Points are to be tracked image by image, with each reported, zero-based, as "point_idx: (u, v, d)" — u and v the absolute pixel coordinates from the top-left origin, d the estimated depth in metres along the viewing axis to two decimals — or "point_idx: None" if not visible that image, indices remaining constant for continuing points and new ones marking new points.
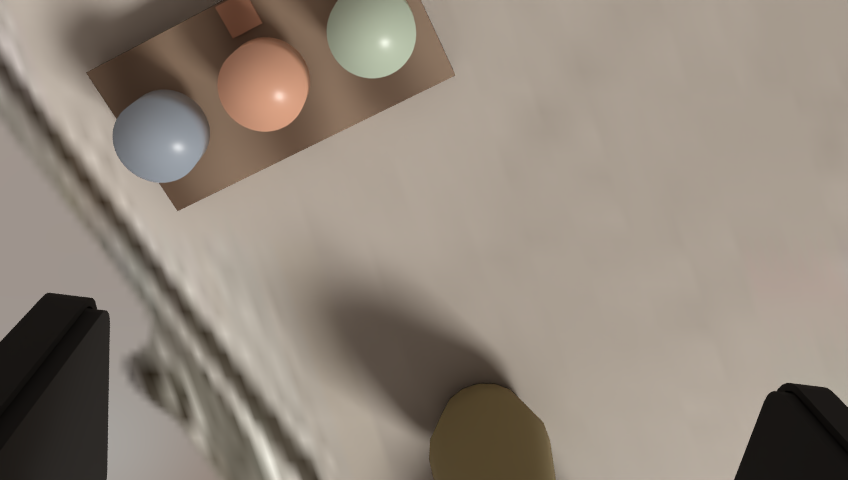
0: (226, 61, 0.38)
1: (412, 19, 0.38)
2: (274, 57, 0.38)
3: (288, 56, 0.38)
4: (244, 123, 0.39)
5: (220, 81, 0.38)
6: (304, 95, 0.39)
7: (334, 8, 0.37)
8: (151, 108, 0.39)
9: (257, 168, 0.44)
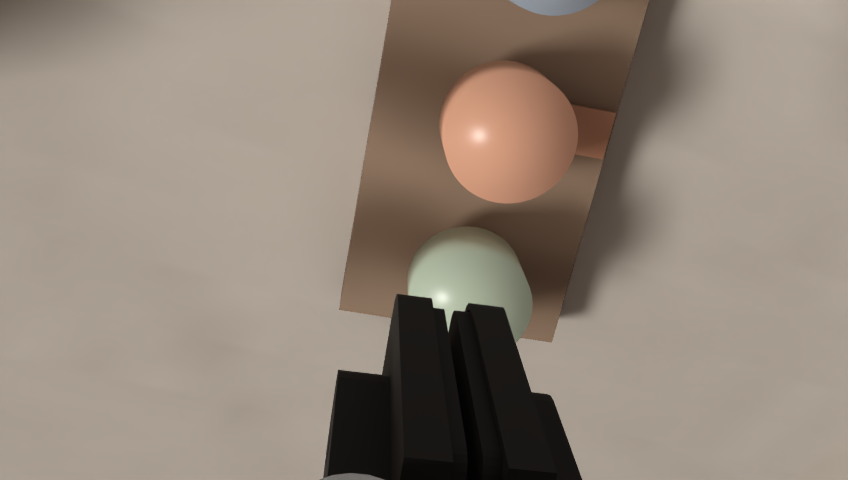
0: (575, 124, 0.25)
1: None
2: (532, 184, 0.26)
3: (520, 200, 0.26)
4: (488, 81, 0.24)
5: (560, 97, 0.25)
6: (462, 183, 0.25)
7: (528, 289, 0.27)
8: None
9: None
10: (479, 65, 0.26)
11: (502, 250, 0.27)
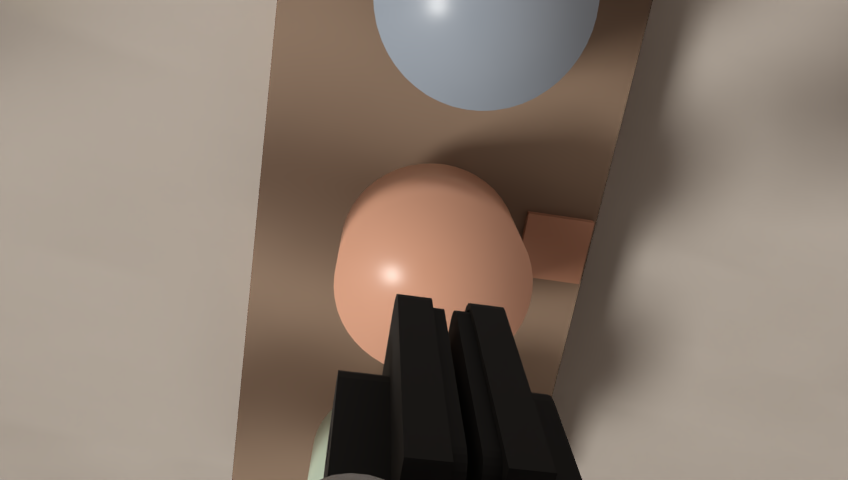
0: (527, 264, 0.17)
1: None
2: None
3: None
4: (393, 208, 0.16)
5: (502, 226, 0.16)
6: (367, 350, 0.17)
7: None
8: (558, 49, 0.15)
9: (277, 72, 0.19)
10: (392, 171, 0.18)
11: None
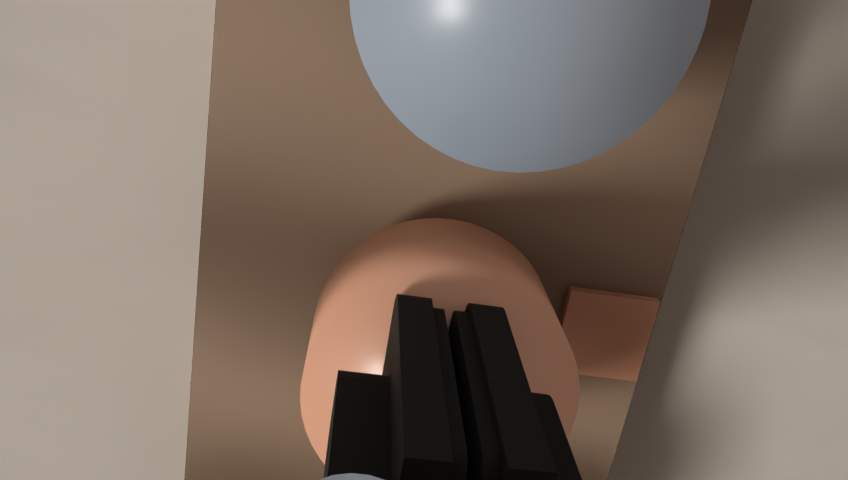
0: (573, 368, 0.12)
1: None
2: None
3: None
4: (384, 295, 0.11)
5: (539, 318, 0.12)
6: None
7: None
8: (641, 78, 0.10)
9: (220, 100, 0.13)
10: (382, 229, 0.13)
11: None
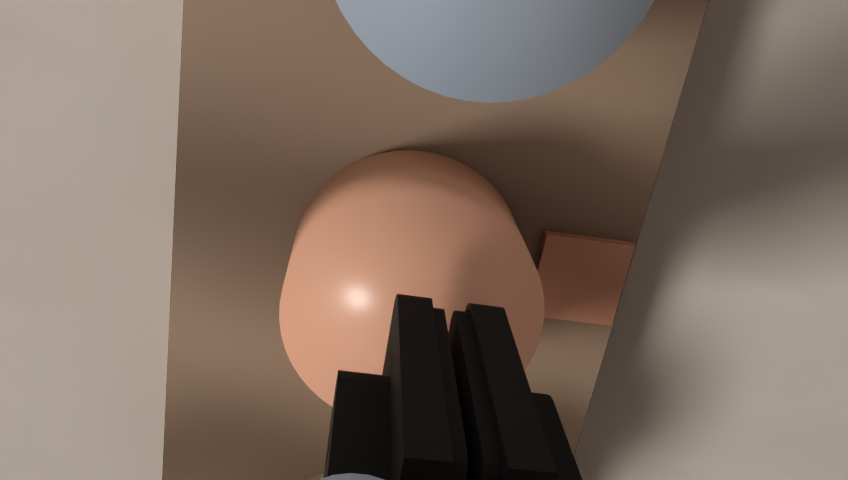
0: (538, 287, 0.13)
1: None
2: None
3: None
4: (357, 216, 0.12)
5: (505, 238, 0.12)
6: (326, 399, 0.13)
7: None
8: (610, 6, 0.10)
9: (192, 40, 0.13)
10: (358, 161, 0.14)
11: None
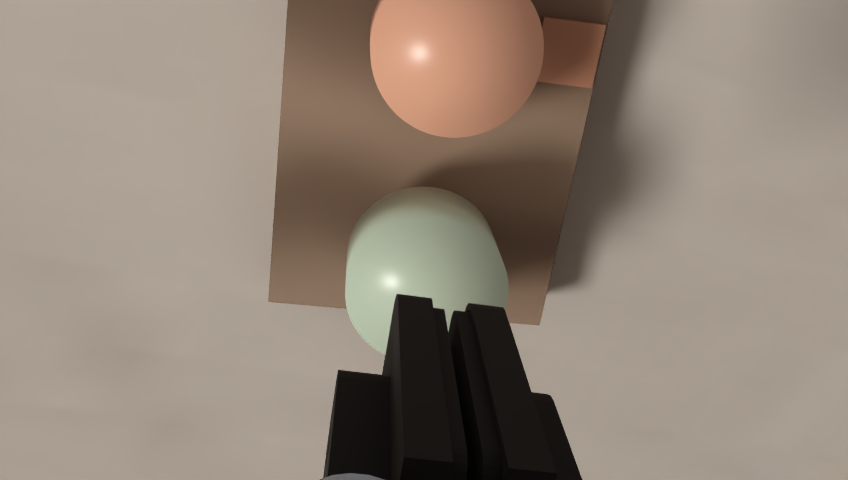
0: (539, 28, 0.19)
1: None
2: (490, 110, 0.20)
3: (476, 133, 0.20)
4: None
5: None
6: (400, 115, 0.20)
7: (501, 264, 0.20)
8: None
9: None
10: None
11: (464, 215, 0.21)
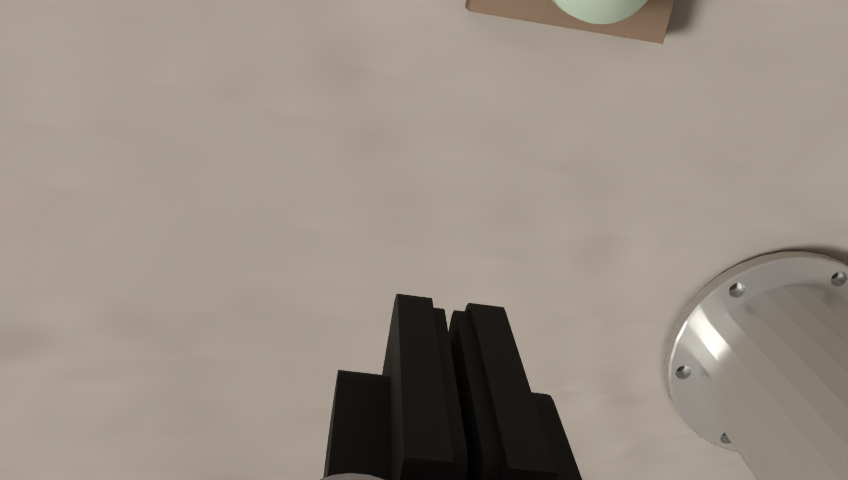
0: None
1: (586, 20, 0.31)
2: None
3: None
4: None
5: None
6: None
7: None
8: None
9: None
10: None
11: None
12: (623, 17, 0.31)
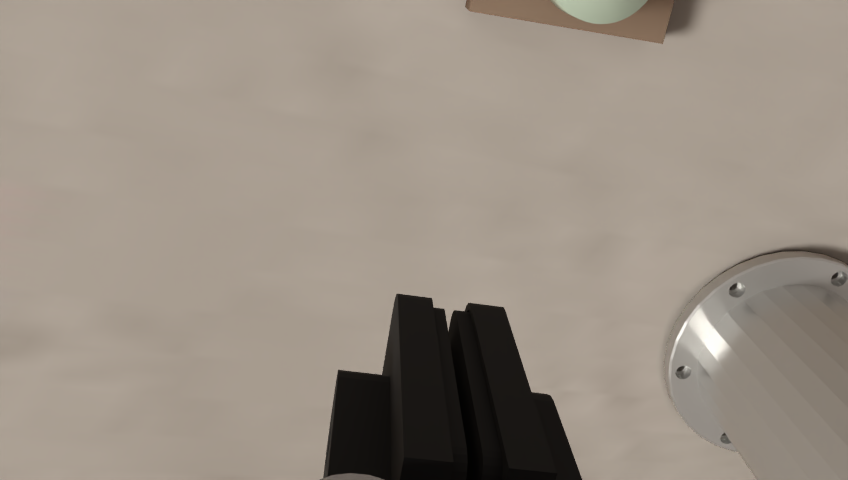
0: None
1: (586, 20, 0.31)
2: None
3: None
4: None
5: None
6: None
7: None
8: None
9: None
10: None
11: None
12: (623, 17, 0.31)
